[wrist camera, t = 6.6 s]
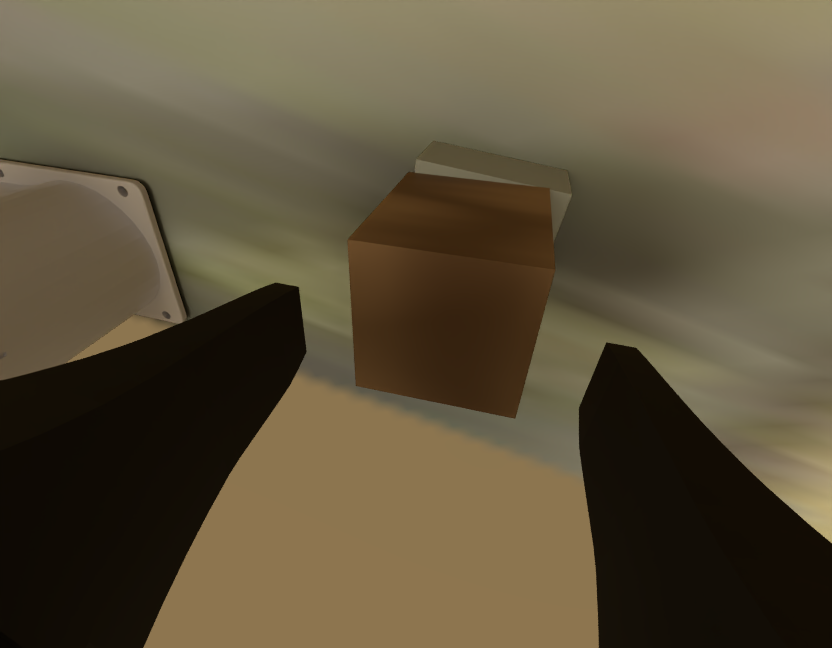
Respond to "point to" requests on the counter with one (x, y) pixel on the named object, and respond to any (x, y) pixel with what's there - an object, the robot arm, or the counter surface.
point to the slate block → (497, 173)
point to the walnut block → (451, 290)
